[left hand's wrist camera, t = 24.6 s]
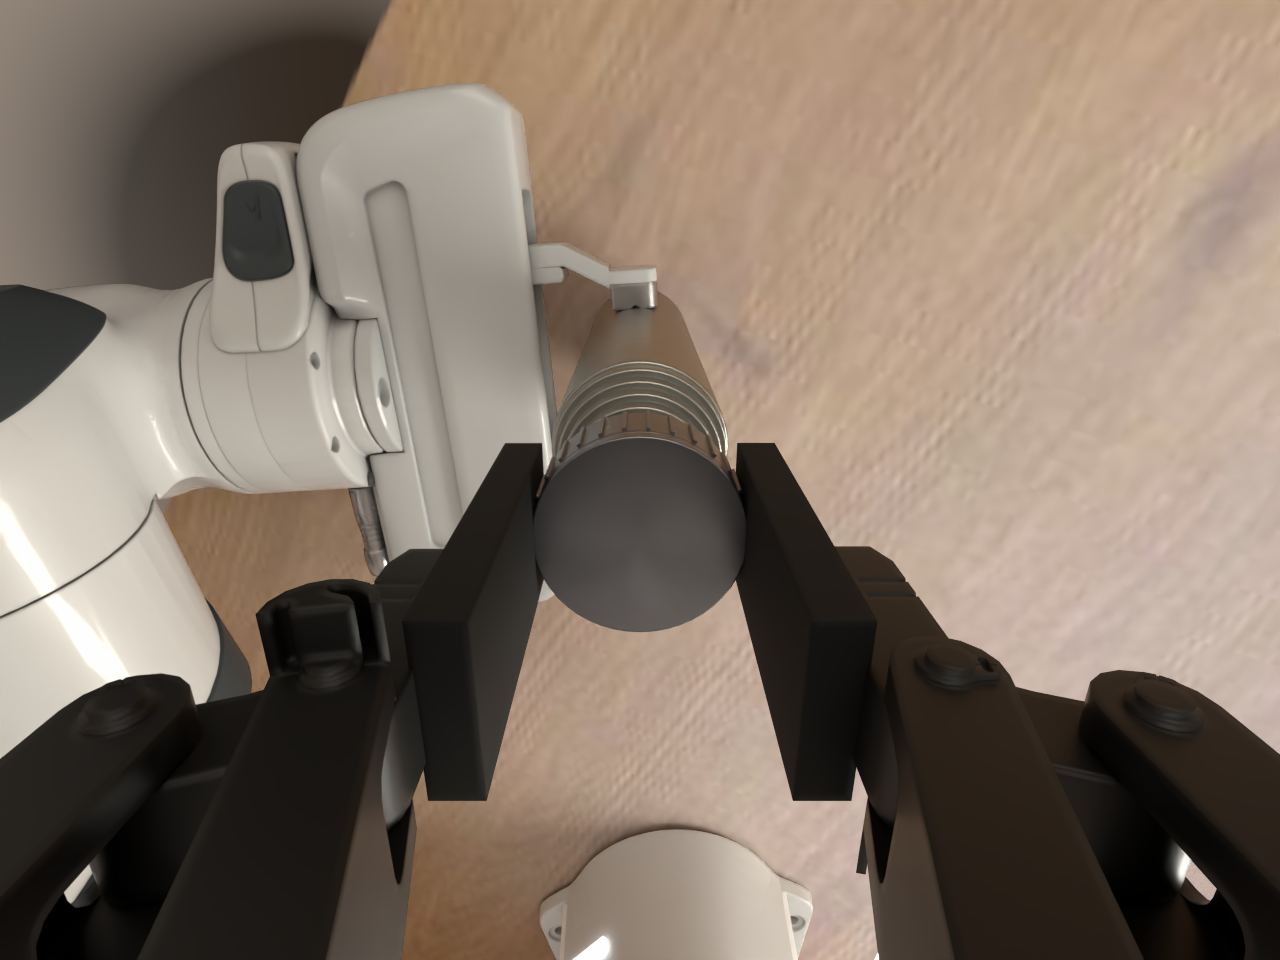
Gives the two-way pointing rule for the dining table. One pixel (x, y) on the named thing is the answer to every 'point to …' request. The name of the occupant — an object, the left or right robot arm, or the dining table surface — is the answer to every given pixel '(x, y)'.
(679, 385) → the bottle
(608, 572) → the cap
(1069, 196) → the dining table surface
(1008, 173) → the dining table surface
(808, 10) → the dining table surface
